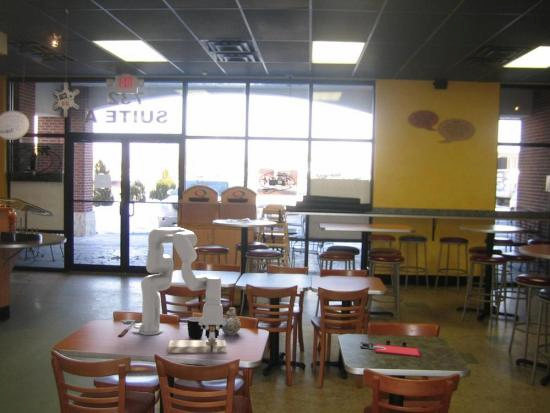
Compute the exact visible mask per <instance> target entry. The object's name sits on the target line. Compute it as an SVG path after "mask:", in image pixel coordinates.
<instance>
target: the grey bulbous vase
mask: <svg viewBox="0 0 550 413" xmlns="http://www.w3.org/2000/svg"><path fill="white" fill-rule="evenodd" d="M225 314H226V316H224V317H223V318H224V320H225V322H226V325H224V326H223V327H222V328H221V329H220V330H222V332H223V334H224V335H225V336H230V337H231V336H233V337H234V336H235V334H237V333H238V332H239V331H240V330H241V328H242V324H241V323H242V322H241V319H240V318H239V317H237V309H236V308H235V307H233V306H232V307H229V309H228V311H226V313H225Z"/></svg>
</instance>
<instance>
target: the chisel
mask: <svg viewBox="0 0 550 413" xmlns="http://www.w3.org/2000/svg"><path fill="white" fill-rule="evenodd" d="M118 321H120V322H123V324H124V325H128V326H127V327H126V328H124V329H123V330H122V331H121V333H120V334H118V335H117V338H123V337H124V336H125V335H126V334H127V333H128V332H129V331H130V328H132V327H133V326H134V324H137V323H142V320H138V319H121V320H118Z"/></svg>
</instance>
